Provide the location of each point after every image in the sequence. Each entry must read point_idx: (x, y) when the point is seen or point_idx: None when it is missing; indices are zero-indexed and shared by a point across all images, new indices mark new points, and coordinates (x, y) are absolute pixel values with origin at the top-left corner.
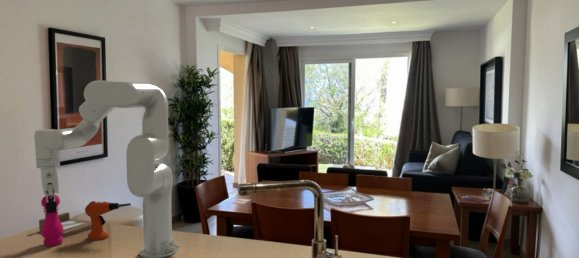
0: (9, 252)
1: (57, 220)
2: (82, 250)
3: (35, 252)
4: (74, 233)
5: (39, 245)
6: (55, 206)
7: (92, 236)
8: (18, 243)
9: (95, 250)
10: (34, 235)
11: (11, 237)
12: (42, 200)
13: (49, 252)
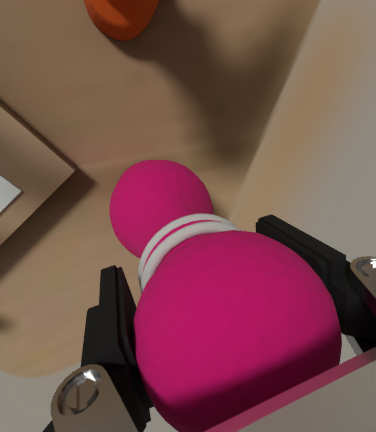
0: None
1: (192, 199)
2: (274, 62)
3: None
4: (26, 123)
5: None
6: (301, 238)
7: (153, 7)
8: None
9: (298, 3)
10: (6, 304)
11: (18, 372)
12: None
13: (242, 184)
